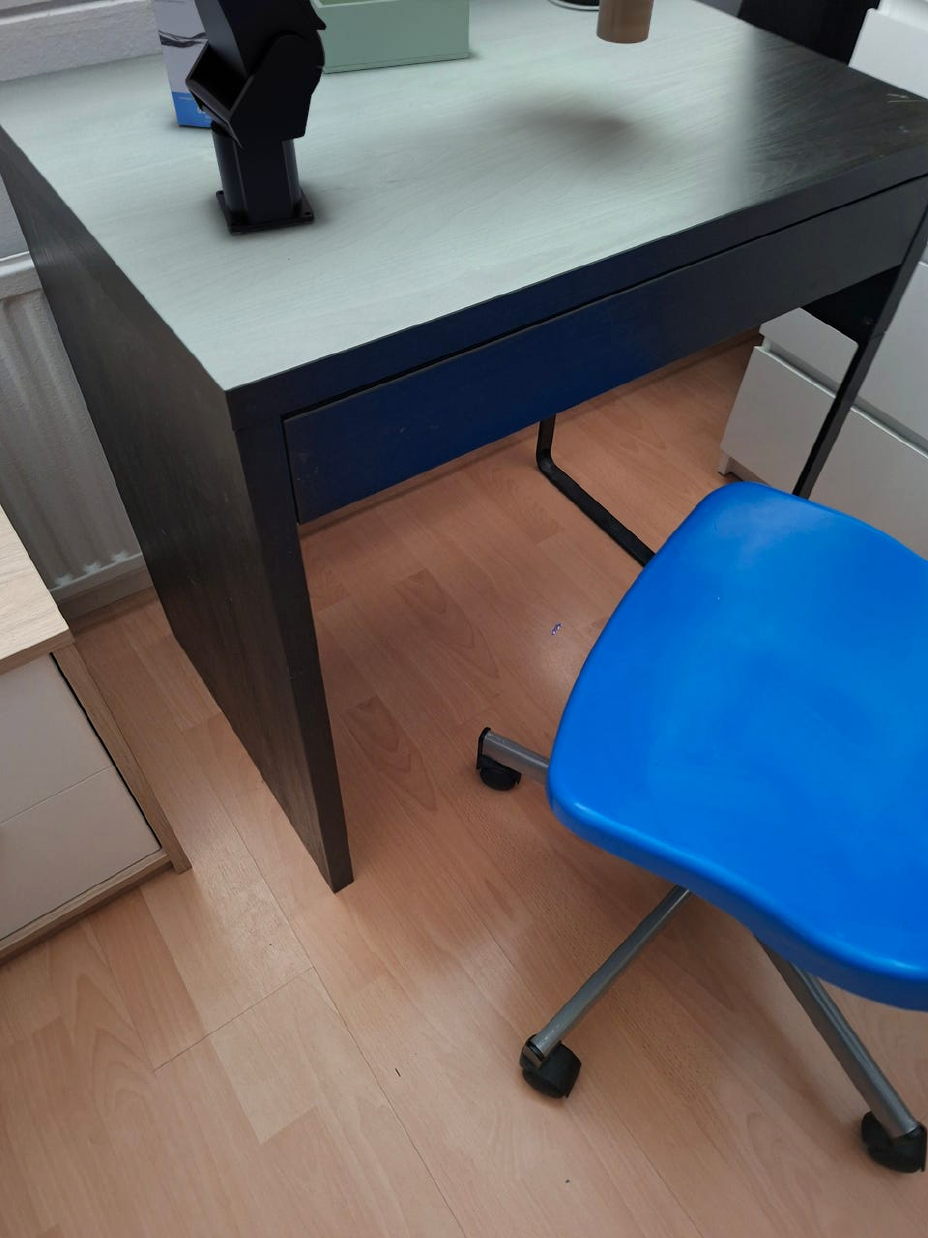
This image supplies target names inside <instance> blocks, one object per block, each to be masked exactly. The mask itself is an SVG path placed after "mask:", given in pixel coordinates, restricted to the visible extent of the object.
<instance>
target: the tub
mask: <svg viewBox="0 0 928 1238" xmlns="http://www.w3.org/2000/svg"><path fill="white" fill-rule="evenodd" d="M310 2H311V5H312V7H313V8H314V10H315V12H316V14H317V15H318V16H319V18H320V19H321V20H322V21H323V22H324V23H325V24H326V29H325V30H317V31H318V33H319V35H320V37H321V40H322V44H323V47H324V51H325V62H326V63H325V66H324V67H323V70H322V72H323V73H324V74H332V73H333V74H334V73H342V72H352V71H360V70H368V69H377V68H378V69H379V68H386V67H387V68H388V67H395V66H396V67H397V66H405V65H413V64H414V65H415V64H422V63H423V64H424V63H432V62H439V61H440V62H441V61H449V60H456V59H457V60H458V59H468V58H469V57H470V56H469V54H470V53H469V51H470V49H469V48H470V43H469V42H470V0H310Z"/></svg>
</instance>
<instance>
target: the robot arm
mask: <svg viewBox="0 0 928 1238" xmlns="http://www.w3.org/2000/svg"><path fill="white" fill-rule="evenodd" d="M194 1H195V5H196V8H197V11H198V13H199V16H200V19H201V22H202V24H203V27H204V30H205V33H206V35H207V38H208V40H207V42H206V44H205V45H204V47H203V49H202V51H201V52H200V54H199V56H198V58H197V60H196V61H195V63H194V65H193V67H192V68H191V70H190V72H189V74H188V75H187V77H186V79H185V84H186V87H187V88H188V90H189V92H190V94H191V96H192V97H193V99H194V101H195V103H196V105H197V106H198V108H199V109H200V110H201V111H203V112H205V113H206V114H208V115H209V116H210V117H211V118H212V119H213V120H212V121H211V124H210V127H209V128H210V132H211V137H212V142H213V147H214V151H215V157H216V161H217V167H218V172H219V176H220V177H219V178H220V181H221V182H220V183H221V186H222V189H219V190H217V191H215V197H216V200H217V203H218V207H219V209H220V211H221V214H222V217H223V219H224V222H225V224H226V227H227V230H228V231H229V233H231V234H239V233H246V232H251V231H258V230H265V229H272V228H278V227H287V226H291V225H299V224H304V223H311V222H314V221H315V220H316V217H315V211H314V210H313V208H312V206H311V204H310V202H309V200H308V198H307V196H306V194H305V192H304V190H303V189H302V187H301V184H300V176H299V169H298V163H297V155H296V147H295V140H297V139H301V138H303V137H305V135H306V132H307V126H308V120H309V113H310V109H311V102H312V96H313V94H314V93H315V91H316V89H317V87H318V85H319V84H320V82H321V78H322V74H323V67H324V66H325V63H326V62H325V51H324V47H323V44H322V40H321V37H320V35H319V33H318V31H317V30H325V29H326V24H325V23H324V22H323V21H322V20H321V19H320V18H319V16H318V15H317V14H316V12H315V10H314V8H313V7H312V5H311V2H310V0H194Z"/></svg>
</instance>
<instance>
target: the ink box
mask: <svg viewBox="0 0 928 1238" xmlns="http://www.w3.org/2000/svg"><path fill="white" fill-rule="evenodd" d="M150 1H151V5H152V9H153V15H154V20H155V23H156V28H157V33H158V38H159V42H160V46H161V52H162V56H163V60H164V65H165V70H166V75H167V78H168V83H169V89H170V93H171V97H172V102H173V107H174V111H175V116H176V122H177V124H178V125H182V126H191V127H192V126H194V127H202V128H203V127H204V128H210V124H211V121H212V120H213V119H212V118H211V117H210V116H209V115H208V114H206V113H205V112H203V111H201V110H200V109H199V108H198V106H197V105H196V103H195V101H194V99H193V97H192V96H191V94H190V92H189V90H188V88H187V87H186V84H185V79H186V77H187V75H188V74H189V72H190V70H191V68H192V67H193V65H194V63H195V61H196V60H197V58H198V56H199V54H200V52H201V51H202V49H203V47H204V45H205V44H206V42H207V40H208V38H207V35H206V33H205V30H204V27H203V24H202V22H201V19H200V16H199V13H198V11H197V8H196V5H195V1H194V0H150Z"/></svg>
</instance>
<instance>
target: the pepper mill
mask: <svg viewBox="0 0 928 1238" xmlns="http://www.w3.org/2000/svg"><path fill="white" fill-rule="evenodd" d="M654 4H655V0H599V4H598V13H597V22H596V30H595V34H596V37H597V38H598V39H599V40H601V41H605V42H609V43H613V44H620V45H631V44H632V45H633V44H638V43H642V42H646V40H648V38H649V34H650V29H651V22H652V16H653V10H654V9H653V8H654Z"/></svg>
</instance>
